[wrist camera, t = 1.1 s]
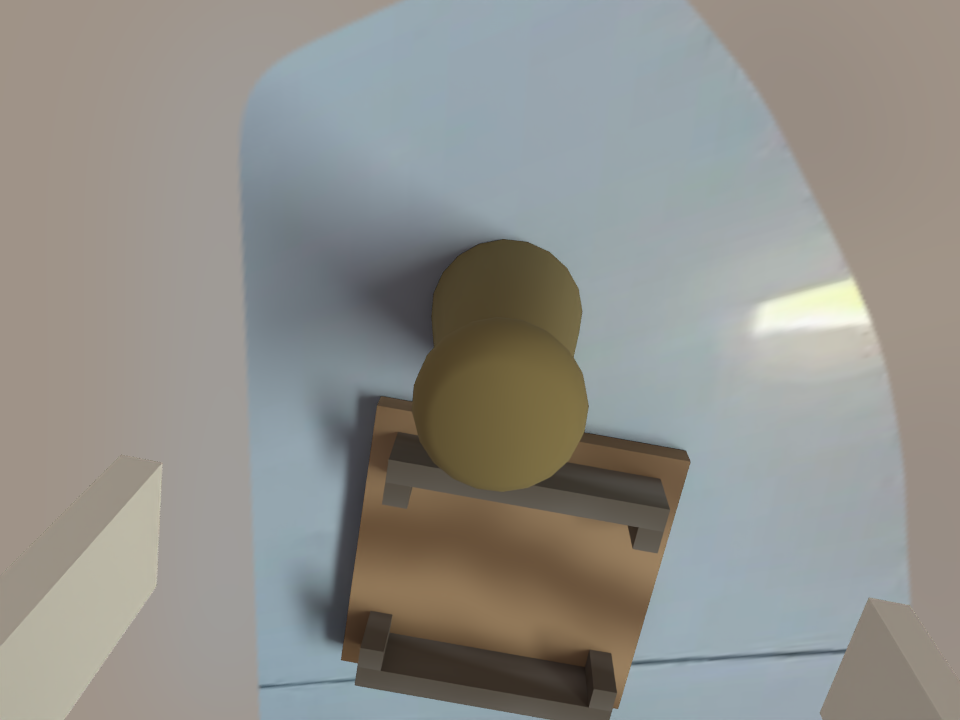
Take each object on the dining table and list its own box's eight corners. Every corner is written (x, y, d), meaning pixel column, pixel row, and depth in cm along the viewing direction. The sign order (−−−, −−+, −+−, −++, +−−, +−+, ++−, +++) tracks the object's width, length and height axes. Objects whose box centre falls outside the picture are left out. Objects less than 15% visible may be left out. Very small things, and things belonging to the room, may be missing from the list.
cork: (415, 362, 34) (368, 494, 24) (452, 220, 32) (418, 299, 22) (556, 400, 35) (570, 547, 24) (602, 262, 33) (638, 360, 22)
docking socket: (615, 693, 40) (623, 751, 36) (345, 645, 40) (329, 699, 36) (685, 450, 35) (702, 491, 32) (380, 396, 35) (365, 431, 32)
